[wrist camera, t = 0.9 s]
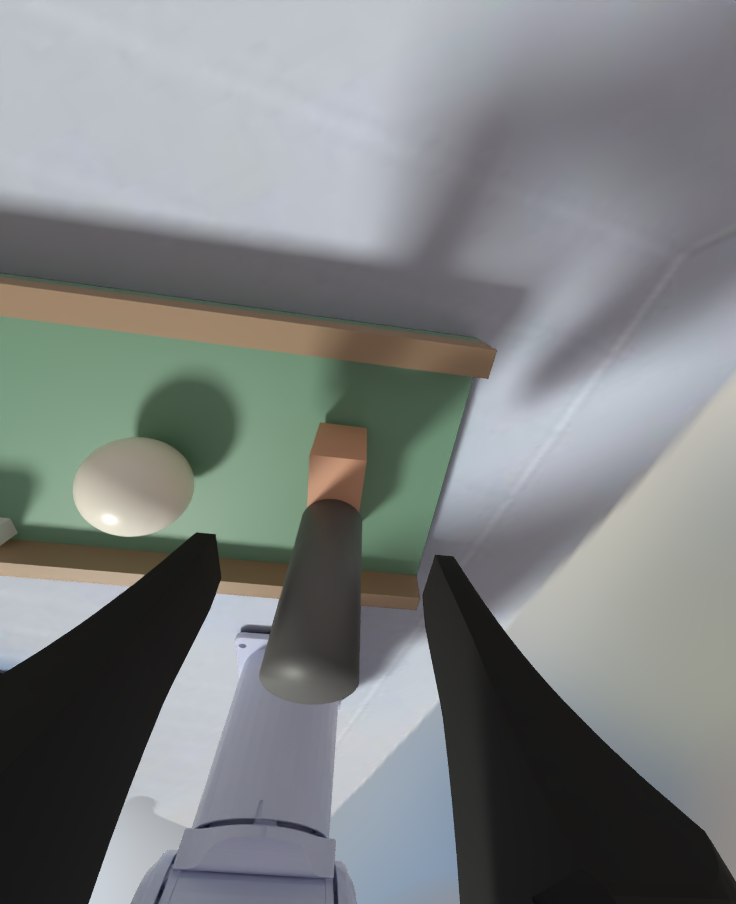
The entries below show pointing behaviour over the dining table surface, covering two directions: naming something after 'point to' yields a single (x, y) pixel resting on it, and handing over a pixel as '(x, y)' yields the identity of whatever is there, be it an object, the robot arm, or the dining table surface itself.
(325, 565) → the kicker
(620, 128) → the dining table surface
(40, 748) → the robot arm
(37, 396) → the pitch
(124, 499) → the ball
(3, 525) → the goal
